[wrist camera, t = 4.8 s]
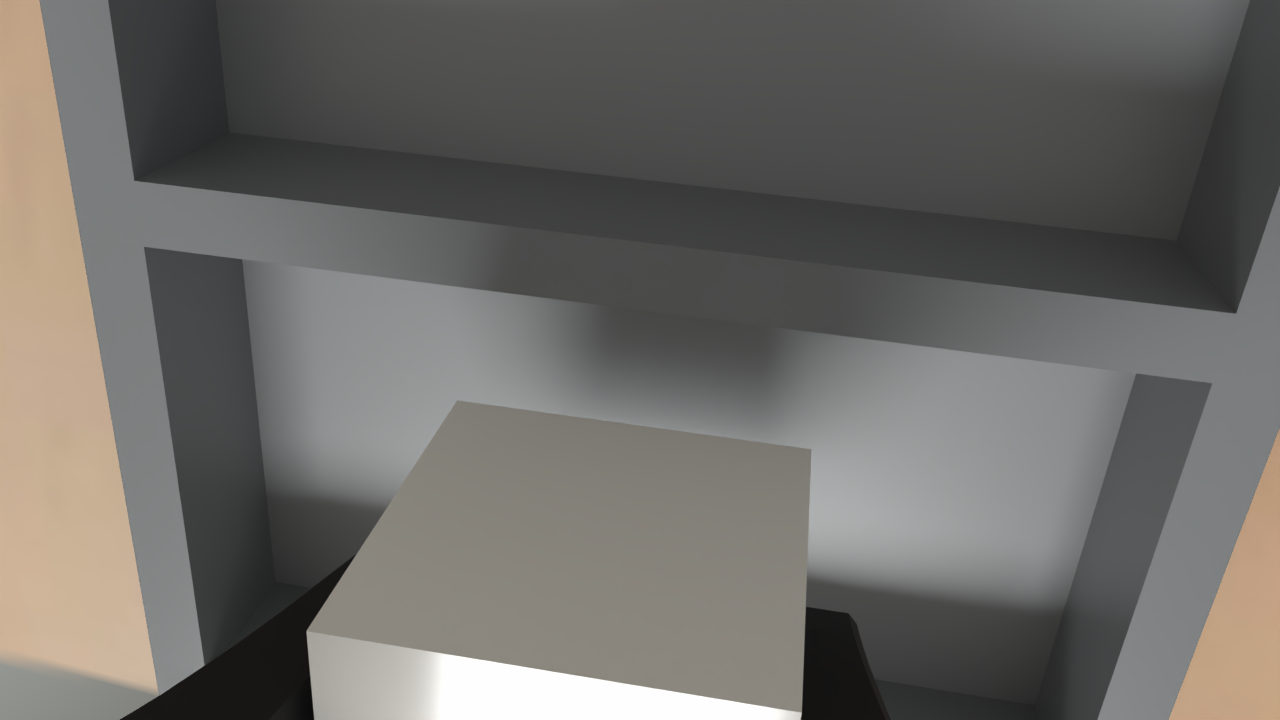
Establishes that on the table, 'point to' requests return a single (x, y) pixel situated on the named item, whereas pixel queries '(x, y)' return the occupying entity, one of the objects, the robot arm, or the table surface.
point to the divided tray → (705, 293)
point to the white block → (574, 579)
